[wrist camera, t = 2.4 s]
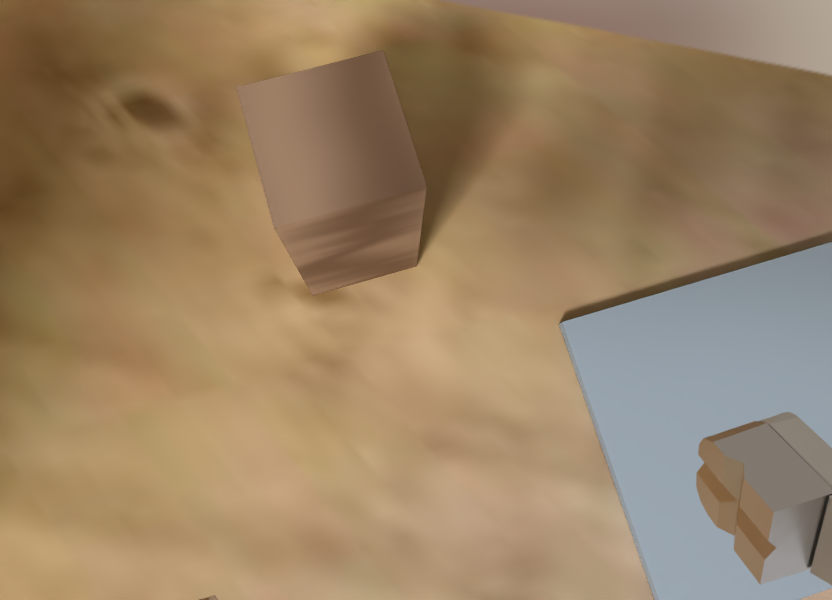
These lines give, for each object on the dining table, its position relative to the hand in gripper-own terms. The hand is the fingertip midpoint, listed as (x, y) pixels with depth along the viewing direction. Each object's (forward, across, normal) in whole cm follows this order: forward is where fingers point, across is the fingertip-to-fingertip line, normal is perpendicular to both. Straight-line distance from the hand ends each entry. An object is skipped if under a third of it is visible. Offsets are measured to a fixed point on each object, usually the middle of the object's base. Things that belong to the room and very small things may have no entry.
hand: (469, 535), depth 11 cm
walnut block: (+21, 0, +5) cm, 22 cm away
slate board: (+12, -15, +15) cm, 24 cm away
